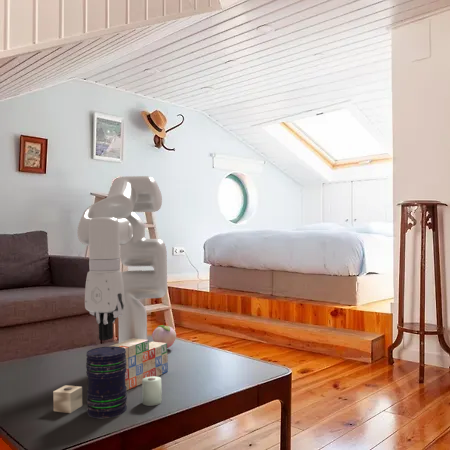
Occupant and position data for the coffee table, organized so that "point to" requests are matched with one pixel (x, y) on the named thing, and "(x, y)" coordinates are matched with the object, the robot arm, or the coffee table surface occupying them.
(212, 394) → the coffee table surface
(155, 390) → the sage cylinder
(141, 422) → the coffee table surface
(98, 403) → the storage jar
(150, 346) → the stack of blocks
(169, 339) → the decorative fruit
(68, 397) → the maple cube
